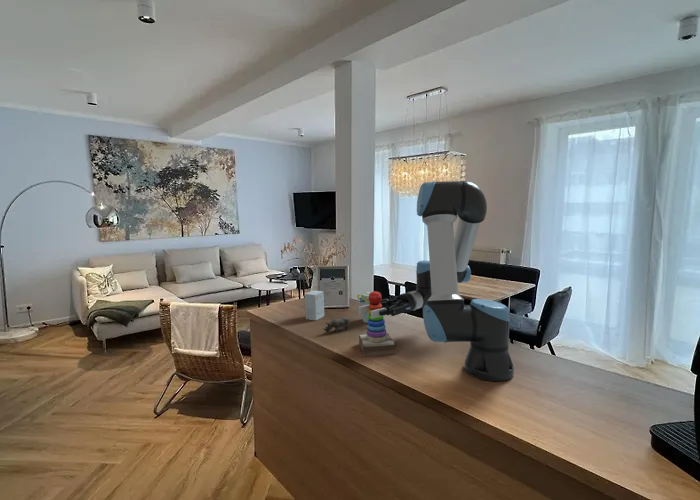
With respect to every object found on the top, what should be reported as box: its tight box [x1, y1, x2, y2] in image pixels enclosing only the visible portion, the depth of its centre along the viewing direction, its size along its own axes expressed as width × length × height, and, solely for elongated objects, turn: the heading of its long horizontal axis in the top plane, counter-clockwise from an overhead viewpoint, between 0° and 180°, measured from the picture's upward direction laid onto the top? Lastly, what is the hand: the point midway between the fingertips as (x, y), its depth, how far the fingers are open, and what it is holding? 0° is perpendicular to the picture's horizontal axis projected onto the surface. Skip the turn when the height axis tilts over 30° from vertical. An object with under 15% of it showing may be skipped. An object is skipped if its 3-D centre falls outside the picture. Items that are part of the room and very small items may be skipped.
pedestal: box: [358, 332, 396, 357], centre depth 138 cm, size 12×12×4 cm
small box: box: [304, 289, 325, 321], centre depth 178 cm, size 8×6×13 cm
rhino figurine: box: [322, 316, 350, 334], centre depth 158 cm, size 4×14×6 cm, turn 122°
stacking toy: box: [366, 290, 387, 342], centre depth 136 cm, size 8×8×19 cm
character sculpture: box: [356, 291, 372, 324], centre depth 171 cm, size 20×12×13 cm, turn 34°
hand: (365, 312), depth 133 cm, fingers open, 6 cm apart
